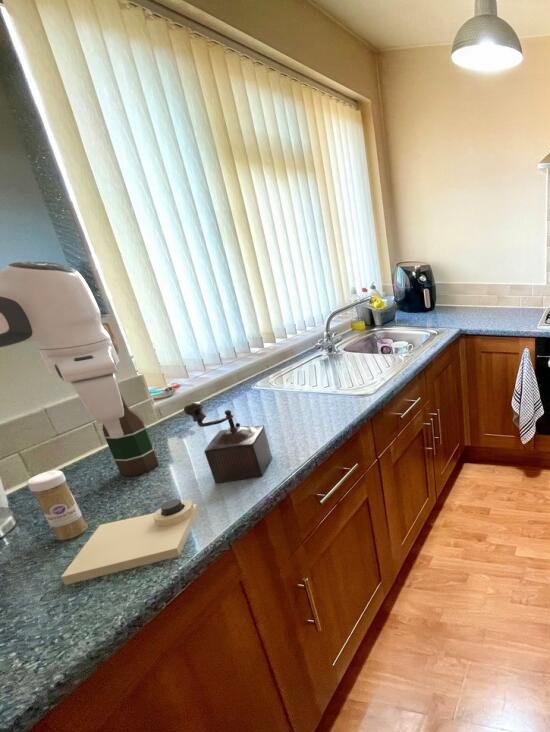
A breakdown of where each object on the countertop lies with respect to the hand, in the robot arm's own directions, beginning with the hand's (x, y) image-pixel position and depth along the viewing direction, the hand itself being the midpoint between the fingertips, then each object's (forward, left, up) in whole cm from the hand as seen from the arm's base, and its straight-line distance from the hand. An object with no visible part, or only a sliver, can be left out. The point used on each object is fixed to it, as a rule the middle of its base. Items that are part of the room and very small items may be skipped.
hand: (112, 428), depth 75 cm
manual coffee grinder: (+12, +15, -22) cm, 29 cm away
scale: (0, -7, -22) cm, 23 cm away
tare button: (+5, -3, -19) cm, 19 cm away
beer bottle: (-10, +26, -22) cm, 35 cm away
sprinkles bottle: (-13, +2, -22) cm, 26 cm away
